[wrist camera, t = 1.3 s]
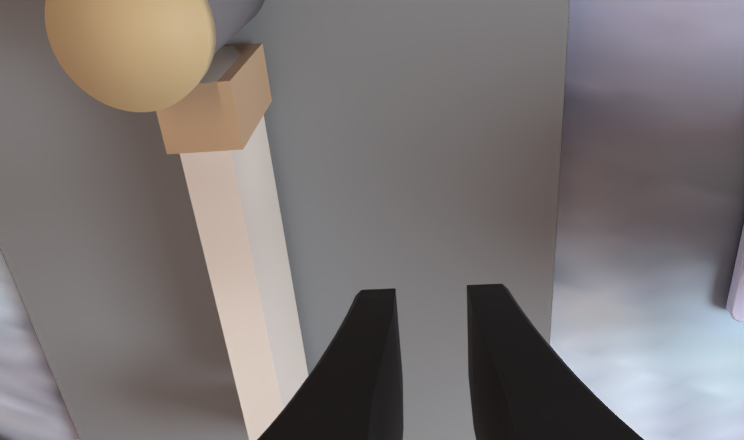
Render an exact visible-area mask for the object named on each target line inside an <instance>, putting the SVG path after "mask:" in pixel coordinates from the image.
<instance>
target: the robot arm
mask: <svg viewBox="0 0 744 440" xmlns="http://www.w3.org/2000/svg"><path fill="white" fill-rule="evenodd" d="M727 310H728V312H729V313H730V315H731V316H732V317H733V319H735V320H737V321H744V225H743V230H742V235H741V239H740V244H739V249H738V253H737V258H736V263H735V267H734V272H733V277H732V281H731V286H730V291H729V295H728V300H727ZM467 328H468V377H469V387H470V397H471V407H472V417H473V426H474V432H475V436H476V440H644V439H643V438H641V437H640V436H639V435H638V434H637V433H636V432H634V431H633V430H632V429H631V428H630V427H629V426H628V425H626V424H625V423H624V422H623V421H622V420H621V419H620V418H619V417H617V416H616V415H615V414H614V413H613V412H612V411H611V410H610V409H609V408H608V407H607V406H606V405H605V404H604V403H603V402H602V401H601V400H600V399H598V398H597V397H596V396H595V395H594V394H593V392H592V391H591V390H590V389H589V388H588V387H587V386H586V385H585V384H584V383H583V382H582V381H581V380H580V379H579V378H578V377H577V376H576V375H575V374H574V373H573V372H572V370H571V369H570V368H569V367H568V366H567V365H566V364H565V363H564V362H563V360H562V359H561V358H560V357H559V356H558V355H557V353H556V352H555V351H554V350H553V349H552V348H551V346H550V345H549V344H548V343H547V342H546V340H545V339H544V338H543V337H542V336H541V334H540V333H539V332H538V330H537V329H536V328H535V327H534V325H533V324H532V323H531V321H530V320H529V319H528V317H527V316H526V315H525V313H524V312H523V310H522V309H521V308H520V306H519V305H518V303H517V302H516V300H515V299H514V297H513V296H512V294H511V293H510V291H509V289H508V288H507V287H505V286H504V285H503V284H480V285H467ZM403 430H404V423H403V374H402V361H401V349H400V337H399V324H398V312H397V300H396V288H390V289H367V290H361V291H360V292H359V293H358V294H357V295H356V296H355V298H354V300H353V303H352V305H351V307H350V309H349V311H348V313H347V315H346V316H345V318H344V320H343V322H342V324H341V326H340V327H339V329H338V331H337V333H336V334H335V336H334V338H333V339H332V341H331V342H330V344H329V346H328V347H327V349H326V350H325V352H324V353H323V355H322V357H321V358H320V360H319V361H318V363H317V364H316V366H315V367H314V369H313V370H312V372H311V373H310V374H309V376H308V377H307V379H306V380H305V381H304V383H303V384H302V385H301V387H300V388H299V389H298V391H297V392H296V393H295V395H294V396H293V398H292V399H291V400H290V402H289V403H288V404H287V405H286V407H285V408H284V409H283V410H282V411H281V413H280V414H279V415H278V416H277V418H276V419H275V420H274V421H273V422H272V423H271V425H270V426H269V427H268V428H267V429H266V430H265V431H264V433H263V434H262V435H261V436H260V437H259V438H258V439H257V440H403Z"/></svg>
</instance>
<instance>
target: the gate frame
mask: <svg viewBox="0 0 744 440" xmlns="http://www.w3.org/2000/svg"><path fill="white" fill-rule="evenodd" d="M569 1H570V0H0V249H1V251H2V254H3V256H4V258H5V261H6V263H7V266H8V268H9V270H10V273H11V275H12V278H13V280H14V282H15V285H16V287H17V290H18V292H19V295H20V297H21V299H22V302H23V304H24V307H25V309H26V311H27V314H28V316H29V319H30V321H31V323H32V326H33V328H34V331H35V333H36V335H37V338H38V340H39V343H40V345H41V347H42V350H43V352H44V355H45V357H46V359H47V362H48V364H49V367H50V369H51V371H52V374H53V376H54V379H55V381H56V384H57V386H58V388H59V391H60V393H61V396H62V398H63V400H64V403H65V405H66V408H67V410H68V412H69V415H70V417H71V420H72V422H73V424H74V427H75V429H76V432H77V434H78V436H79V439H80V440H249V437H248V433H247V429H246V425H245V421H244V417H243V412H242V408H241V404H240V400H239V396H238V392H237V388H236V384H235V380H234V375H233V371H232V367H231V363H230V359H229V355H228V351H227V347H226V342H225V338H224V334H223V330H222V326H221V322H220V318H219V314H218V310H217V305H216V301H215V297H214V293H213V289H212V285H211V281H210V277H209V273H208V268H207V264H206V260H205V256H204V252H203V248H202V244H201V240H200V236H199V231H198V227H197V223H196V219H195V215H194V211H193V207H192V203H191V199H190V194H189V190H188V186H187V182H186V178H185V174H184V170H183V166H182V161H181V157H180V154H167V152H166V148H165V145H164V141H163V137H162V133H161V129H160V125H159V121H158V117H157V113H156V111H158V110H161V109H165V108H167V107H169V106H172V105H174V104H176V103H177V102H179V101H180V100H182V99H183V98H184V97H185V96H186V95H187V94H189V93H190V92H191V91H192V90H193V89H194V88H195V87H196V86H197V85H198V84H199V82H200V81H201V80H202V79H203V78H204V76H205V75H206V73H207V71H208V70H209V67H210V65H211V63H212V60H213V57H214V53H216V52H217V51H218V50H219V49H220V48H221V47H222V46H231V45H245V44H258V43H263V49H264V55H265V61H266V67H267V73H268V79H269V86H270V92H271V98H272V102H271V104H270V105H269V107H268V109H267V110H266V112H265V114H264V119H265V125H266V131H267V137H268V143H269V149H270V154H271V160H272V166H273V172H274V178H275V184H276V189H277V195H278V201H279V207H280V213H281V219H282V224H283V230H284V236H285V242H286V248H287V254H288V259H289V265H290V271H291V277H292V283H293V289H294V294H295V300H296V306H297V312H298V318H299V324H300V329H301V335H302V341H303V347H304V353H305V359H306V364H307V370H308V376H309V374H310V373H311V372H312V370H313V369H314V367H315V366H316V364H317V363H318V361H319V360H320V358H321V357H322V355H323V353H324V352H325V350H326V349H327V347H328V346H329V344H330V342H331V341H332V339H333V338H334V336H335V334H336V333H337V331H338V329H339V327H340V326H341V324H342V322H343V320H344V318H345V316H346V315H347V313H348V311H349V309H350V307H351V305H352V303H353V300H354V298H355V296H356V295H357V294H358V293H359V292H360V291H361V290H367V289H390V288H396V300H397V312H398V324H399V337H400V349H401V361H402V374H403V423H404V430H403V440H476V436H475V432H474V426H473V417H472V407H471V397H470V387H469V377H468V328H467V285H480V284H503V285H504V286H505V287H507V288H508V289H509V291H510V293H511V294H512V296H513V297H514V299H515V300H516V302H517V303H518V305H519V306H520V308H521V309H522V310H523V312H524V313H525V315H526V316H527V317H528V319H529V320H530V321H531V323H532V324H533V325H534V327H535V328H536V329H537V330H538V332H539V333H540V334H541V336H542V337H543V338H544V339H545V340H546V342H547V343H548V344H549V345H550V331H551V313H552V296H553V279H554V261H555V244H556V227H557V209H558V192H559V175H560V157H561V140H562V123H563V105H564V88H565V71H566V53H567V36H568V19H569Z"/></svg>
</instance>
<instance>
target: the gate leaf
mask: <svg viewBox="0 0 744 440" xmlns="http://www.w3.org/2000/svg"><path fill="white" fill-rule="evenodd" d="M271 102H272V98H271V92H270V86H269V79H268V73H267V67H266V61H265V55H264V49H263V43H258V44H245V45H231V46H222V47H221V48H220V49H219V50H218V51H217V52H216V53H214V57H213V60H212V63H211V65H210V67H209V70H208V71H207V73H206V75H205V76H204V78H203V79H202V80H201V81H200V82H199V84H198V85H197V86H196V87H195V88H194V89H193V90H192V91H191V92H190V93H189V94H187V95H186V96H185V97H184V98H183V99H182V100H180V101H179V102H177V103H176V104H174V105H172V106H169V107H167V108H165V109H161V110H158V111H156V113H157V117H158V121H159V125H160V129H161V133H162V137H163V141H164V145H165V148H166V152H167V154H180V157H181V161H182V166H183V170H184V174H185V178H186V182H187V186H188V190H189V194H190V199H191V203H192V207H193V211H194V215H195V219H196V223H197V227H198V231H199V236H200V240H201V244H202V248H203V252H204V256H205V260H206V264H207V268H208V273H209V277H210V281H211V285H212V289H213V293H214V297H215V301H216V305H217V310H218V314H219V318H220V322H221V326H222V330H223V334H224V338H225V342H226V347H227V351H228V355H229V359H230V363H231V367H232V371H233V375H234V380H235V384H236V388H237V392H238V396H239V400H240V404H241V408H242V412H243V417H244V421H245V425H246V429H247V433H248V437H249V440H257V439H258V438H259V437H260V436H261V435H262V434H263V433H264V431H265V430H266V429H267V428H268V427H269V426H270V425H271V423H272V422H273V421H274V420H275V419H276V418H277V416H278V415H279V414H280V413H281V411H282V410H283V409H284V408H285V407H286V405H287V404H288V403H289V402H290V400H291V399H292V398H293V396H294V395H295V393H296V392H297V391H298V389H299V388H300V387H301V385H302V384H303V383H304V381H305V380H306V379H307V377H308V370H307V364H306V359H305V353H304V347H303V341H302V335H301V329H300V324H299V318H298V312H297V306H296V300H295V294H294V289H293V283H292V277H291V271H290V265H289V259H288V254H287V248H286V242H285V236H284V230H283V224H282V219H281V213H280V207H279V201H278V195H277V189H276V184H275V178H274V172H273V166H272V160H271V154H270V149H269V143H268V137H267V131H266V125H265V119H264V114H265V112H266V110H267V109H268V107H269V105H270V104H271Z"/></svg>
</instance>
